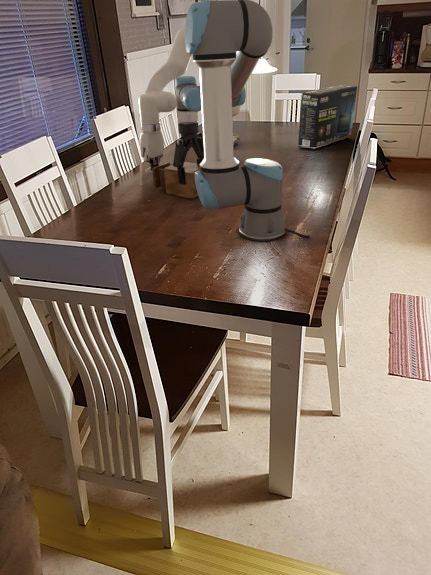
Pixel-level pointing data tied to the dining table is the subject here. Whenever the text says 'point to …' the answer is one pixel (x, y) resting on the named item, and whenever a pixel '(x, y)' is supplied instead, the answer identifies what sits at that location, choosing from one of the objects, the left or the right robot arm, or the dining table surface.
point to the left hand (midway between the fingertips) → (155, 173)
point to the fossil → (235, 138)
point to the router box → (326, 115)
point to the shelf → (158, 174)
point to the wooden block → (173, 180)
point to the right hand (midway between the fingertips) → (191, 179)
